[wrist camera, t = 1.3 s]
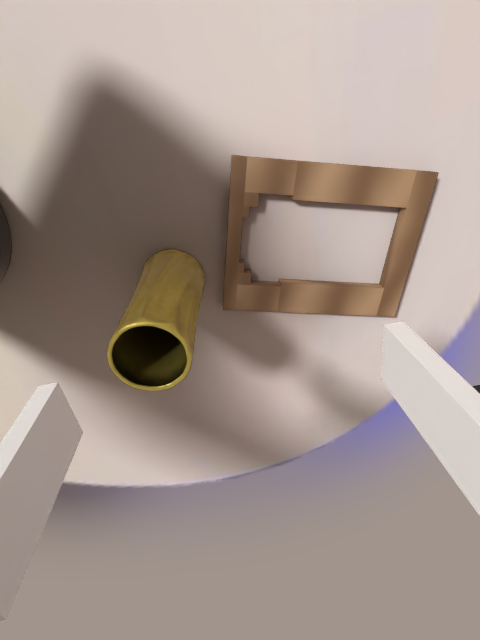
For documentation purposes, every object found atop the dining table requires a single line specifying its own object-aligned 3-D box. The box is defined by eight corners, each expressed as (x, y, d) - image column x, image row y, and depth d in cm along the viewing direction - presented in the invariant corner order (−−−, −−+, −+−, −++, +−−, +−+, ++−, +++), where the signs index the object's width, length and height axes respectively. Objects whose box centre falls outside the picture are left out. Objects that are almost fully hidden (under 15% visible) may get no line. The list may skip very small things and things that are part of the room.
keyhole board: (222, 304, 36) (223, 309, 35) (231, 155, 30) (232, 155, 29) (389, 311, 38) (394, 316, 37) (431, 171, 31) (438, 172, 30)
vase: (209, 303, 36) (205, 390, 23) (150, 311, 36) (114, 403, 23) (199, 244, 33) (188, 308, 20) (135, 253, 33) (85, 322, 20)
